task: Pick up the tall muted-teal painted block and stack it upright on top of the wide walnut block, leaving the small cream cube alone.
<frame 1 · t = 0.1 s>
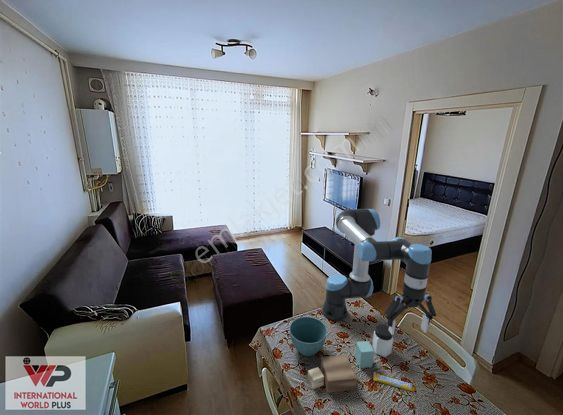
hand: (407, 331, 103), 28 cm above the table, fingers open, 13 cm apart
plant pot: (307, 349, 129), on the table
walnut block: (337, 378, 114), on the table
jar: (381, 350, 129), on the table
candy bar: (393, 384, 112), on the table
cream cube: (315, 382, 112), on the table
teal block: (363, 362, 122), on the table
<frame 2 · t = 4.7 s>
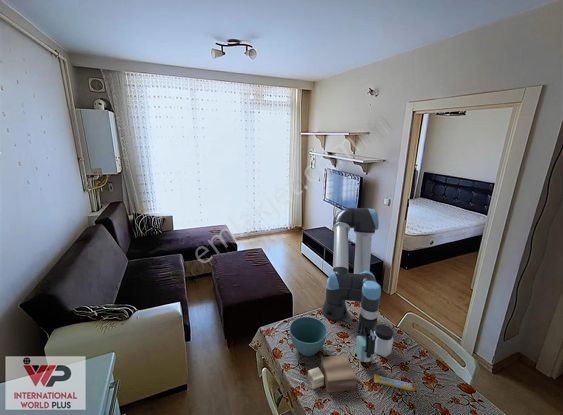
hand: (363, 355, 122), 3 cm above the table, fingers closed on teal block, 6 cm apart
teal block: (363, 355, 122), point 3 cm above the table, touching gripper
everything else where it was.
when the fingers open (8 cm above the table, at t = 8.9 s): teal block drops 1 cm, resting on walnut block.
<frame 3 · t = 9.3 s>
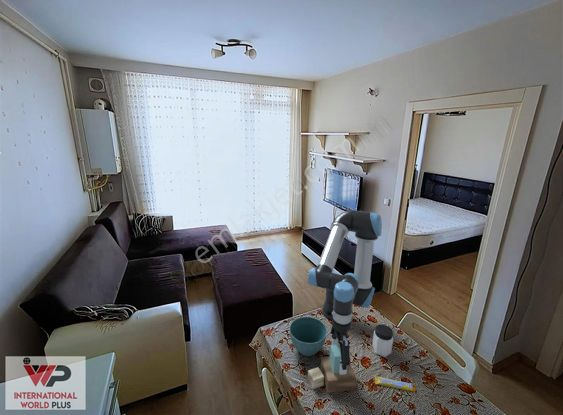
hand: (338, 361, 112), 9 cm above the table, fingers open, 11 cm apart
teal block: (338, 367, 112), point 6 cm above the table, touching walnut block
everything else where it was.
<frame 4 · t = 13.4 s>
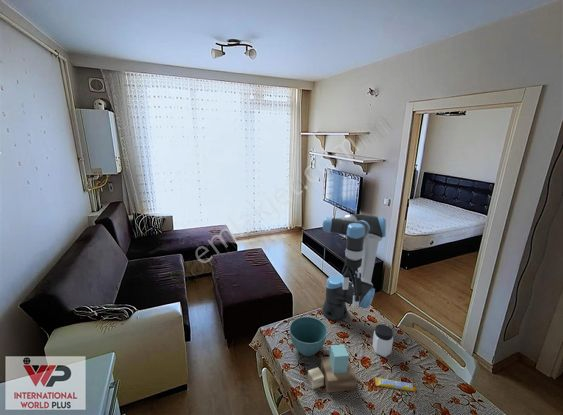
hand: (350, 297, 124), 29 cm above the table, fingers open, 13 cm apart
at the end: teal block inside the target area on the walnut block (0.1 cm from its centre), point 6.0 cm above the walnut block's base; teal block tilted 0°; the gripper is holding nothing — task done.
